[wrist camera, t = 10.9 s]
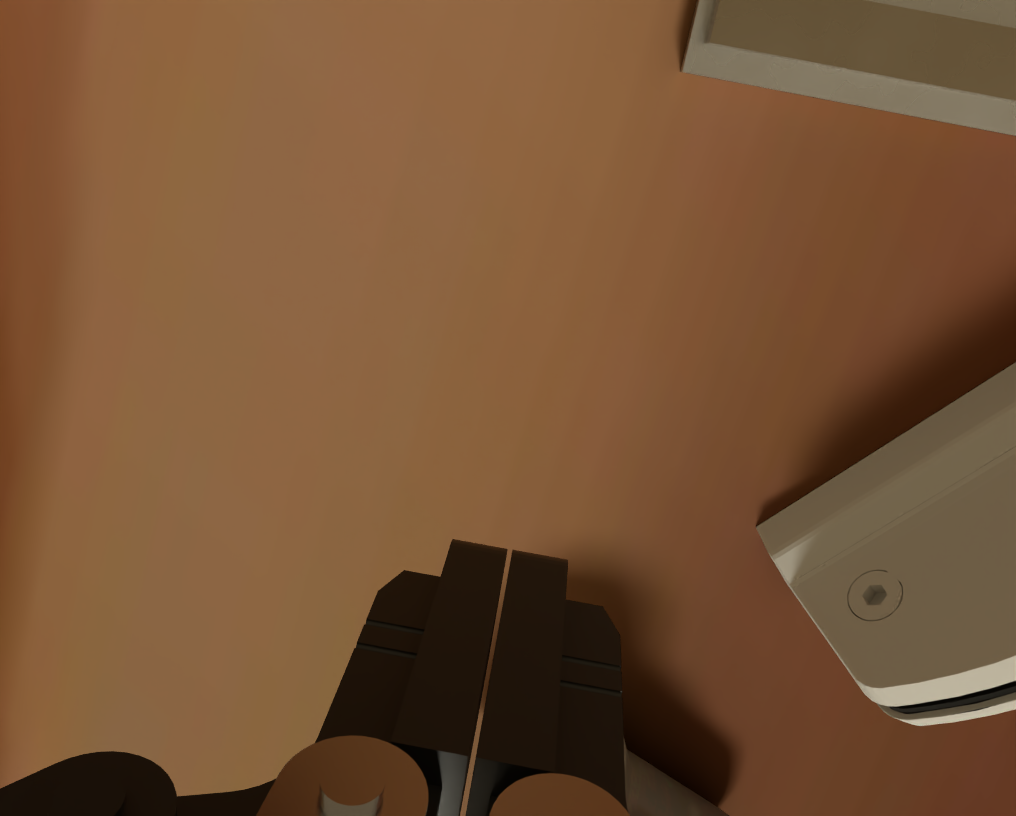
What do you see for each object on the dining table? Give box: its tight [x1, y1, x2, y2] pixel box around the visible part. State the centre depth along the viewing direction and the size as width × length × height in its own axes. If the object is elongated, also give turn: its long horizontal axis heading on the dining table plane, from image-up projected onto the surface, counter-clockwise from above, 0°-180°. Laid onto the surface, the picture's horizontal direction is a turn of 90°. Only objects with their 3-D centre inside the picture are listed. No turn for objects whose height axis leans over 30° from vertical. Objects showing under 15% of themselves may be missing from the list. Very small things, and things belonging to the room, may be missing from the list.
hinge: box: [756, 362, 1016, 726], centre depth 32 cm, size 17×5×10 cm, turn 131°
